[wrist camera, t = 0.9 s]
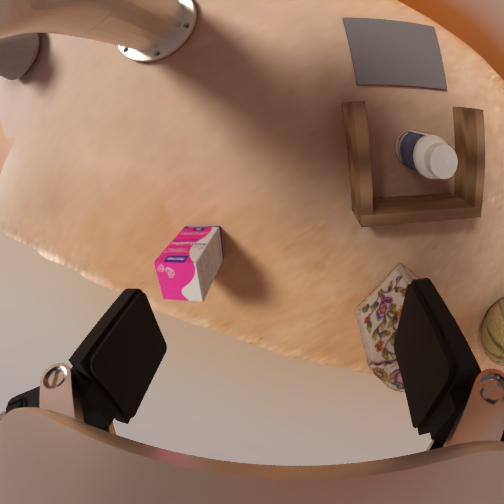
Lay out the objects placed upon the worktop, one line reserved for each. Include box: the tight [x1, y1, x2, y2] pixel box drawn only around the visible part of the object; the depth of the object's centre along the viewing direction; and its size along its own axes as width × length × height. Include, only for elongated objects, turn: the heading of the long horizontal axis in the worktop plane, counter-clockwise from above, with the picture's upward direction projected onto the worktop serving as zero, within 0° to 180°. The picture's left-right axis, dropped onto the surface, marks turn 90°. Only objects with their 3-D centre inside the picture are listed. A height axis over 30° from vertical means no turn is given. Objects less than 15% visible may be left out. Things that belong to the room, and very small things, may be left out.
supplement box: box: [154, 226, 223, 302], centre depth 38 cm, size 6×6×12 cm
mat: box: [343, 18, 447, 90], centre depth 25 cm, size 10×14×1 cm
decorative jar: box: [356, 264, 419, 392], centre depth 36 cm, size 12×12×18 cm
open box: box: [342, 101, 485, 227], centre depth 29 cm, size 15×19×6 cm
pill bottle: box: [395, 130, 458, 179], centre depth 27 cm, size 5×5×10 cm
